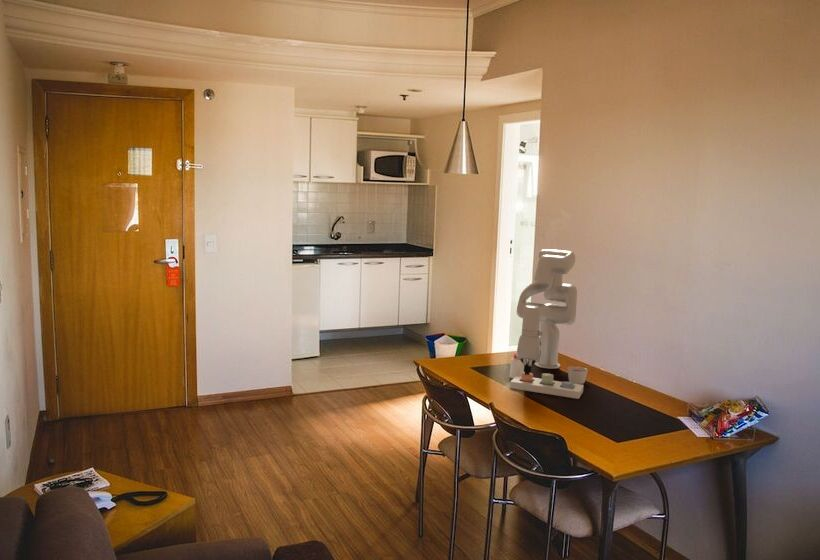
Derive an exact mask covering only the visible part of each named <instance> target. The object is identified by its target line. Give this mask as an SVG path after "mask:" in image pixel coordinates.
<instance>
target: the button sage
mask: <svg viewBox="0 0 820 560" xmlns="http://www.w3.org/2000/svg"><path fill="white" fill-rule="evenodd" d="M541 379H542V381H541V384H543V385H553V381H554V374H553V373H552V374H551V373H541Z"/></svg>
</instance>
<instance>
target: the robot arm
mask: <svg viewBox="0 0 820 560" xmlns="http://www.w3.org/2000/svg"><path fill="white" fill-rule="evenodd" d="M575 263H576V255H575V253H574V251H572V250H571V251H570V250H563V249H562V250H561V249H551V248H547V249H546V248H545V249H544V248H543V249H541V250H540V251H539V252H538V261H537V265H536V266H537V267H536V270H535V274H534V277H533V282H532V283H530V284H529V285H527V286H526V287H525V288H524V289H523V290H522V292H520V295H519V298H518V302H517V306H516V314H517V316H518V318H520V319H522V322H521V323H522V324H521V326H522V327H521V334H520V335H519V339H518V343H517V348H516V353H517V357H516V359H517V360H520V361H521V362H522V363H523V365H524V372H525V374H527V375H529V374H530V373H532V366H533V365H534V366H536V367H538V368H541V369H547V370H549V369H550V370H553V369H554V370H555V369H559V368H561V364H560V363H559V362H558V358H559V345H560V330H559V328H558V326H557V324H559V325H565V326H571V325H573V324H574V323H575V322H576V319H577V318H576V316H577V303H578V301H577V300H578V289H577V287H576V286H575V284H572V283H564V282H563V276H564V275H567V274H568V273H569V272H570V271H571V270H572V269H573V268H574V266H575ZM542 292H543V297H544V299H545V300H546V301H549V302H556V303H558V304H556V303H537V302H528V299H529V298H531V297H532V296H535V295H537V294H540V293H542ZM559 303H561V304H559ZM528 360H529V361H528ZM527 361H528V362H527Z"/></svg>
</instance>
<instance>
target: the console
mask: <svg viewBox="0 0 820 560" xmlns="http://www.w3.org/2000/svg"><path fill="white" fill-rule="evenodd" d="M521 377H522V376H520V375H517V376H516V377H515V378H514V379H511V381H510V382H509V383H510V384H509V387H510V389H513V390H521V391H527V392H533V393H538V394H539V393H540V394H546V395H551V396H558V397H563V398H564V397H565V398H571V399H577V400H579V399H580V397H582V395H583V393H584V388H585V387H584V384H574V387H573V389H569V388H562V382H563V381H559V380H553V385H543V384H541V381H542V378H539V377H534V376H533V383H530V382H523V381H521Z"/></svg>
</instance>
